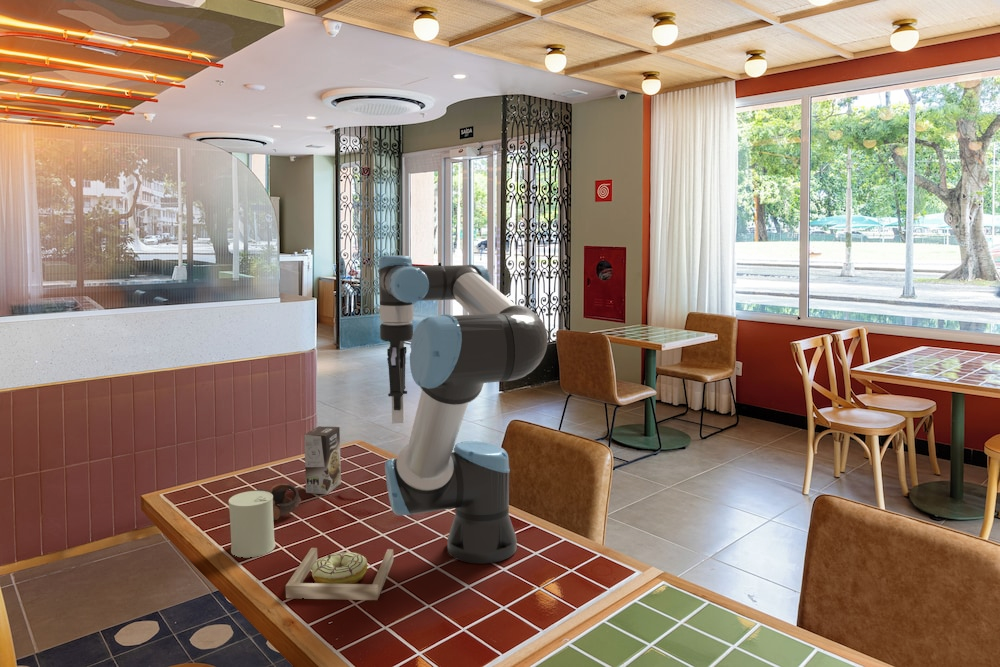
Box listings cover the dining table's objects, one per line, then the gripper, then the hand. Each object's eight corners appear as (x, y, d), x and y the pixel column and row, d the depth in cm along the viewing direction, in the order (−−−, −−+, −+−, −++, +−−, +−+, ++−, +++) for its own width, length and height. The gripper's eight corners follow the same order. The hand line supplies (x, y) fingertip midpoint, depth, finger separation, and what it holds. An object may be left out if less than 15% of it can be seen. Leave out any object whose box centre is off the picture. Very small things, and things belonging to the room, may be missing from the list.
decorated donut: (323, 564, 147) (322, 547, 147) (373, 567, 146) (373, 549, 145) (304, 589, 137) (303, 570, 136) (358, 592, 136) (357, 573, 135)
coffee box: (327, 495, 185) (325, 435, 183) (305, 493, 186) (302, 434, 184) (342, 483, 194) (340, 426, 192) (320, 481, 195) (318, 425, 193)
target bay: (393, 560, 148) (393, 549, 148) (377, 600, 132) (377, 587, 132) (311, 559, 149) (311, 547, 149) (285, 598, 133) (285, 585, 132)
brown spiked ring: (302, 505, 180) (306, 483, 175) (292, 534, 172) (296, 512, 167) (255, 495, 178) (258, 473, 174) (242, 524, 170) (245, 502, 166)
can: (261, 559, 148) (258, 505, 147) (222, 555, 150) (219, 502, 149) (283, 541, 157) (280, 490, 156) (245, 537, 159) (243, 487, 158)
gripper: (384, 319, 168) (386, 415, 172) (375, 326, 156) (377, 430, 159) (416, 319, 168) (417, 415, 172) (409, 326, 156) (410, 430, 159)
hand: (398, 422), depth 165 cm, fingers closed
